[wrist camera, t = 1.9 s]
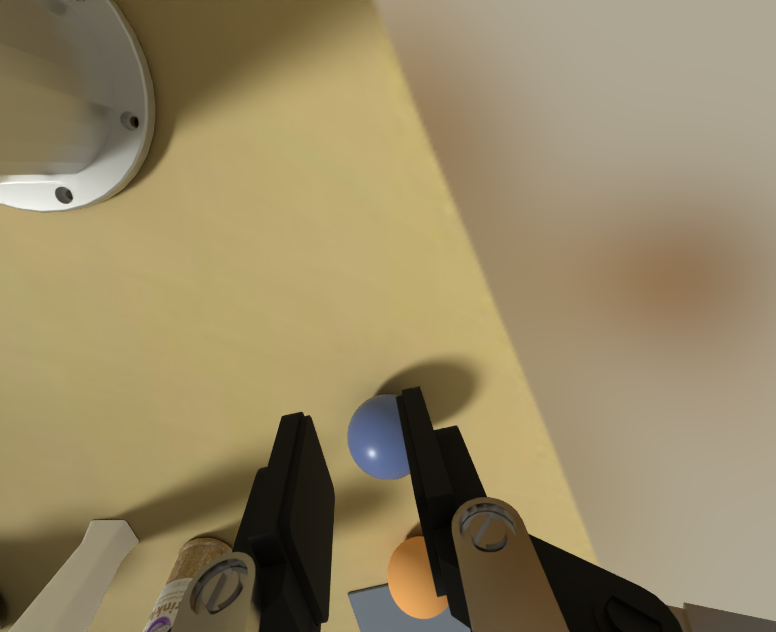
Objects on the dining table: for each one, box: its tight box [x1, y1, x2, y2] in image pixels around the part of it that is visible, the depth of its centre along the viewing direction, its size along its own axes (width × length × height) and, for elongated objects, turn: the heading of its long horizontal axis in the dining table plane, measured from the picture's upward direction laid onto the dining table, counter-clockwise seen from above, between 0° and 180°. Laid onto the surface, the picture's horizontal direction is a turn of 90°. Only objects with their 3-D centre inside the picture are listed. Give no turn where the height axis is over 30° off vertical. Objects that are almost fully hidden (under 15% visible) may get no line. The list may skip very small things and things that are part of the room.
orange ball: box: [388, 536, 449, 619], centre depth 31 cm, size 6×6×6 cm
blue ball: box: [347, 394, 410, 480], centre depth 26 cm, size 6×6×6 cm
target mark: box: [348, 584, 470, 632], centre depth 38 cm, size 14×14×1 cm
